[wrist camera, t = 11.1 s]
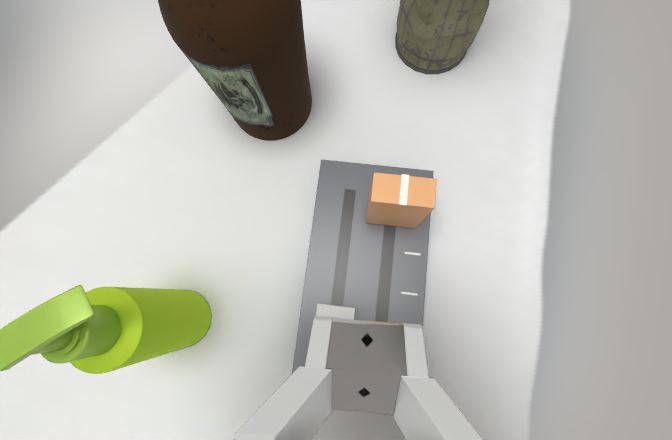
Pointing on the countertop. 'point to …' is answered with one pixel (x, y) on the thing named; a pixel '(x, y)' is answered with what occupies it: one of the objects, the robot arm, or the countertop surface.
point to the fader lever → (400, 200)
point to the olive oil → (247, 58)
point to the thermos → (437, 32)
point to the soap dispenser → (106, 327)
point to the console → (360, 256)
